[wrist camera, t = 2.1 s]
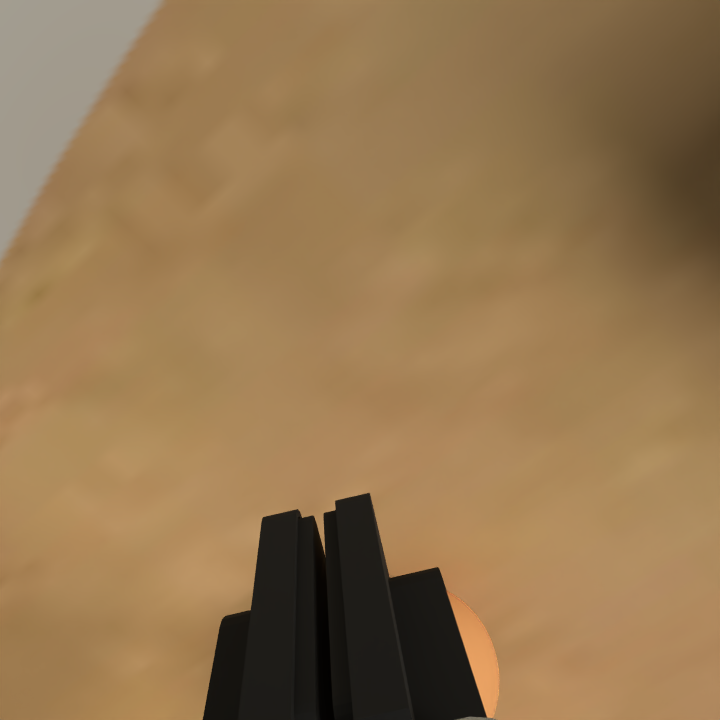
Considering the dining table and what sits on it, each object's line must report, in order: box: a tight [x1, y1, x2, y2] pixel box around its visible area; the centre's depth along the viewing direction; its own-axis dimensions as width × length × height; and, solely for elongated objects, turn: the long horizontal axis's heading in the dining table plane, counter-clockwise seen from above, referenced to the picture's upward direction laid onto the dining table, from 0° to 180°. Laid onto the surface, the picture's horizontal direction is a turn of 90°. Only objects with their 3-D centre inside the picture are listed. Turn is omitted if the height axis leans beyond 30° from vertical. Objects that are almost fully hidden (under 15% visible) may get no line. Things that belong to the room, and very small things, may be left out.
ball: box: [447, 591, 499, 718], centre depth 20 cm, size 6×6×6 cm
